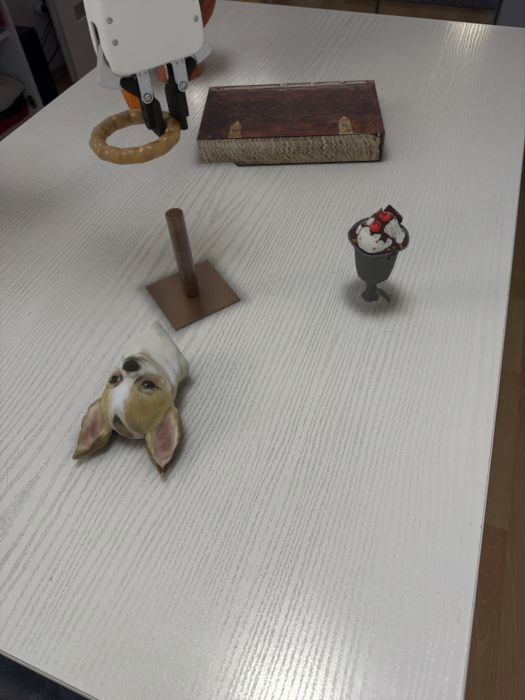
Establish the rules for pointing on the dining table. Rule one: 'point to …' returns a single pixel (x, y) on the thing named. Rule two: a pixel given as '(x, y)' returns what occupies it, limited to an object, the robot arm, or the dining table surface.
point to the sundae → (377, 248)
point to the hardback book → (292, 123)
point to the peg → (189, 282)
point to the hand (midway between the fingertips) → (168, 127)
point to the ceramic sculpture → (140, 399)
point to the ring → (133, 153)
